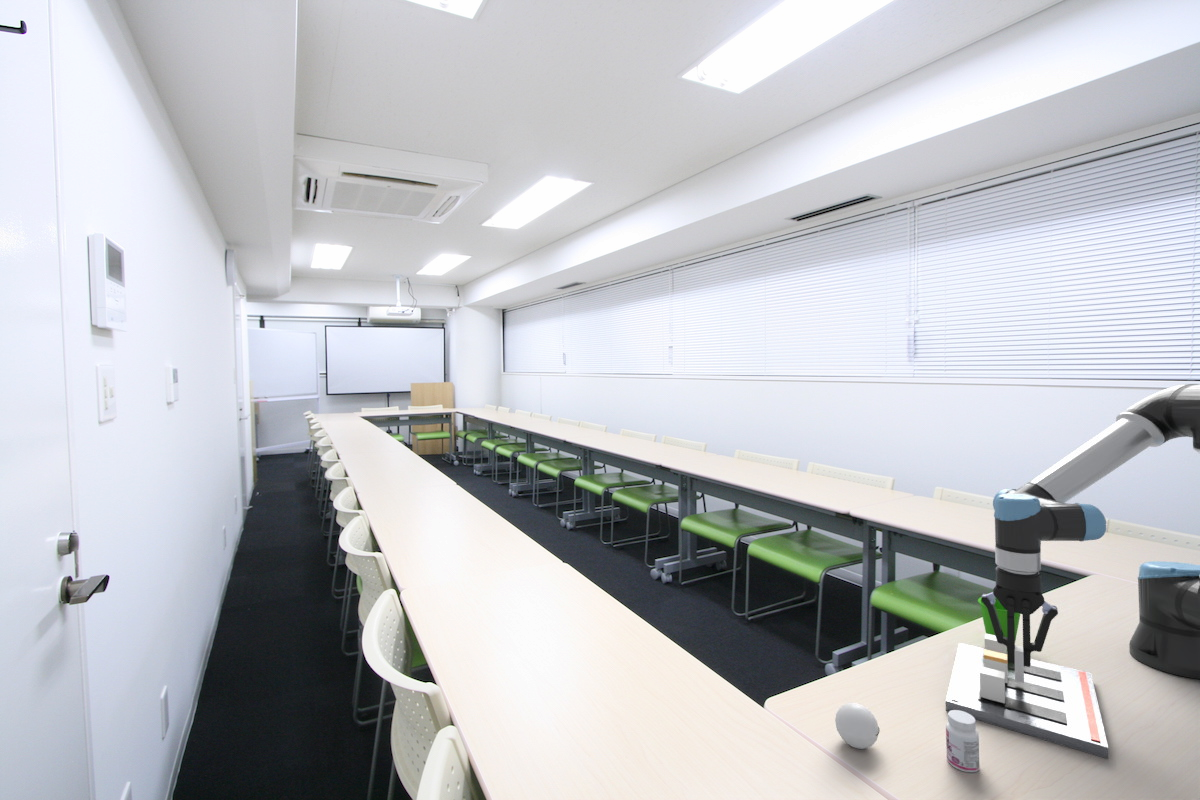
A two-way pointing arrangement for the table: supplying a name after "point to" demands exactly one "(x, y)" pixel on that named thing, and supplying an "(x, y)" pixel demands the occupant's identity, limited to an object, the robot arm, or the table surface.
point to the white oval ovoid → (857, 725)
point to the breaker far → (994, 644)
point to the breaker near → (992, 684)
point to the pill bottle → (962, 741)
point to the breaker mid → (996, 662)
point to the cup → (1001, 615)
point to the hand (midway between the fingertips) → (1019, 679)
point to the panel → (1033, 701)
